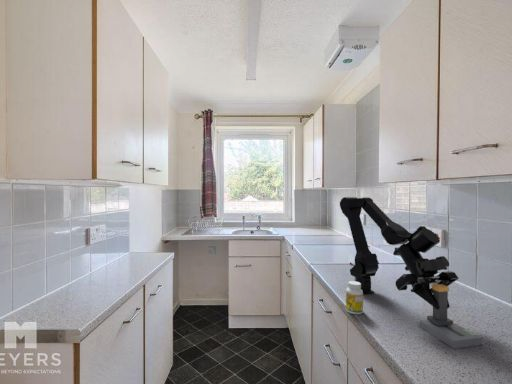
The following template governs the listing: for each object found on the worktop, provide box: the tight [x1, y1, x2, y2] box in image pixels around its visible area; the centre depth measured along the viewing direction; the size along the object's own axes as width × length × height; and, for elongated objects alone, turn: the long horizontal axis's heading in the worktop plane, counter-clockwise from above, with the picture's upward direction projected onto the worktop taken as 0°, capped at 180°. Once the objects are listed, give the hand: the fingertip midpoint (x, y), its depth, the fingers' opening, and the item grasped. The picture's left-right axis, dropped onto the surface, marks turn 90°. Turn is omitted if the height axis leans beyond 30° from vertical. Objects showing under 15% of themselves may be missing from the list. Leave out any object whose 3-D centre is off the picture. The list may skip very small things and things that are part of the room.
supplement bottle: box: [345, 280, 364, 315], centre depth 89 cm, size 5×5×10 cm
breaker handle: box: [426, 284, 454, 326], centre depth 78 cm, size 4×5×11 cm
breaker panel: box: [419, 319, 483, 349], centre depth 75 cm, size 11×9×2 cm
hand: (443, 308), depth 77 cm, fingers closed on breaker handle, 3 cm apart
